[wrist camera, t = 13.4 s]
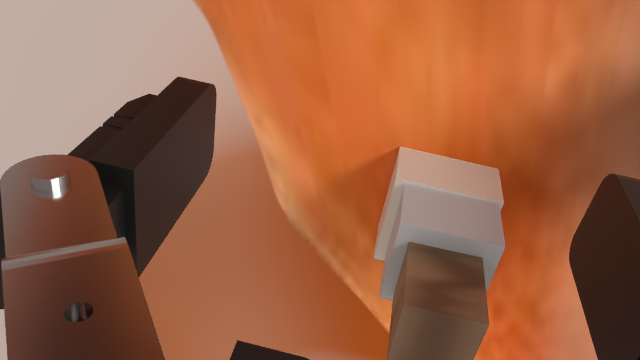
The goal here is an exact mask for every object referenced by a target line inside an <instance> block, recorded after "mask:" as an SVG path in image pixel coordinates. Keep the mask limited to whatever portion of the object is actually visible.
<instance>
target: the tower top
mask: <svg viewBox="0 0 640 360" xmlns="http://www.w3.org/2000/svg"><path fill="white" fill-rule="evenodd" d="M409 242H414V243H418V244H423V245H427V246H432V247H436V248H441V249H445V250H450V251H454V252H459V253H463V254H468V255H472V256H477V257H481V258H483V266H484V276H485V287H486V292H487V290H488V287H489V285H490V282H491V280H492V278H493V275H494V273H495V271H496V268H497V266H498V264H499V261H500V259H501V256H502V254H503V252H504V249H505V247H506V245H505V239H504V232H503V225H502V219H501V212H500V206H499V203H494V202H490V201H485V200H480V199H476V198H471V197H467V196H462V195H457V194H453V193H448V192H444V191H439V190H435V189H430V188H425V187H421V186H416V185H412V184H407V183H404V186H403V190H402V194H401V197H400V201H399V205H398V209H397V212H396V216H395V220H394V223H393V227H392V231H391V235H390V238H389V242H388V246H387V249H386V253H385V259H384V267H383V275H382V282H381V290H380V297H379V298H383V299H387V300H392V301H393V295H394V291H395V288H396V284H397V281H398V277H399V274H400V270H401V267H402V263H403V260H404V256H405V253H406V250H407V246H408V243H409Z"/></svg>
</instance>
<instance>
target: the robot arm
mask: <svg viewBox="0 0 640 360" xmlns="http://www.w3.org/2000/svg"><path fill="white" fill-rule="evenodd" d="M215 113H216V88H215V86H214V85H213V84H209V83H205V82H200V81H196V80H191V79H187V78H182V77H177V78H176V79H175V80H173V81H172V82H171V83H170V84H169V85H168V86H167V87H166V88H165V89H164V90H163V91H162V92H161V93H160V94H159V95H158V96H156V95H152V94H148V95H145V96H142V97H140V98H137V99H134V100H132V101H129V102H127V103H126V104H125V105H124V106H123V107H122V108H120V109H119V110H118V111H117V112H116V113H115V114H114V117H110V118H109V119H108V120H107V121H106V122H105V123H103V126H102V127H99V128H98V129H96V130H95V131H94V132H93V133H92V134H91V135H90V136H89V137H88V138H86V139H85V140H84V141H83V142H82V143H81V144H80V145H78V146H77V147H76V148H75V149H74V150H73V151H71V152H70V153H69V154H68V155H43V156H37V157H33V158H29V159H26V160H23V161H21V162H19V163H17V164H15V165H14V166H12V167H10V168H9V169H8V170H7V171H6V172H5V173H4V174H3V176H2V178H1V180H0V309H4V311H5V327H6V342H7V356H8V360H165V358H164V355H163V352H162V349H161V345H160V342H159V339H158V336H157V333H156V330H155V327H154V324H153V321H152V317H151V314H150V311H149V308H148V305H147V302H146V299H145V296H144V292H143V289H142V286H141V283H140V280H139V277H140V275H141V273H142V272H143V271H144V269H145V267H146V266H147V264H148V263H149V262H150V260H151V259H152V257H153V256H154V254H155V253H156V251H157V250H158V248H159V247H160V245H161V244H162V242H163V241H164V239H165V238H166V236H167V235H168V233H169V232H170V230H171V229H172V227H173V226H174V224H175V223H176V221H177V220H178V218H179V217H180V215H181V214H182V212H183V211H184V209H185V208H186V206H187V205H188V203H189V202H190V201H191V199H192V198H193V196H194V195H195V193H196V192H197V190H198V188H199V187H200V185H201V184H202V183H203V181H204V179H205V178H206V176H207V174H208V172H209V169H210V165H211V162H212V157H213V149H214V132H215V131H214V130H215ZM569 261H570V266H571V270H572V273H573V276H574V280H575V283H576V287H577V290H578V293H579V297H580V300H581V304H582V307H583V310H584V314H585V317H586V321H587V324H588V327H589V331H590V334H591V338H592V341H593V344H594V348H595V351H596V355H597V358H598V360H640V180H639V179H635V178H630V177H626V176H621V175H617V174H609V175H608V176H606V177H605V178H604V180H603V181H602V182H601V184H600V186H599V188H598V190H597V192H596V194H595V196H594V198H593V199H592V201H591V203H590V205H589V207H588V209H587V211H586V213H585V215H584V217H583V219H582V221H581V223H580V224H579V226H578V228H577V230H576V232H575V234H574V236H573V239H572V242H571V247H570V254H569ZM230 360H309V359H307V358H305V357H301V356H297V355H293V354H289V353H285V352H280V351H277V350H273V349H269V348H265V347H261V346H258V345H253V344H250V343H245V342H242V341H238V340H237V343H236V345H235V348H234V350H233V353H232V355H231V358H230Z"/></svg>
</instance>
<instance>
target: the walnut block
mask: <svg viewBox="0 0 640 360" xmlns="http://www.w3.org/2000/svg"><path fill="white" fill-rule="evenodd" d="M488 326H489V318H488V308H487V297H486V287H485V276H484V266H483V258H481V257H477V256H472V255H468V254H463V253H459V252H454V251H450V250H445V249H441V248H436V247H432V246H427V245H423V244H418V243H414V242H409V243H408V246H407V250H406V253H405V256H404V260H403V263H402V267H401V270H400V274H399V277H398V281H397V284H396V288H395V291H394V295H393V305H392V315H391V325H390V334H389V344H388V354H387V360H474V358H475V355H476V353H477V351H478V348H479V346H480V344H481V342H482V339H483V337H484V335H485V333H486V330H487V328H488Z"/></svg>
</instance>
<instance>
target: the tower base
mask: <svg viewBox="0 0 640 360" xmlns="http://www.w3.org/2000/svg"><path fill="white" fill-rule="evenodd" d="M404 183H407V184H412V185H416V186H421V187H425V188H430V189H435V190H439V191H444V192H448V193H453V194H457V195H462V196H467V197H471V198H476V199H480V200H485V201H490V202H494V203H499V206H500V211H501V209H502V207H503V204H504V199H503V193H502V187H501V181H500V174H499V169H497V168H493V167H488V166H484V165H480V164H475V163H471V162H467V161H462V160H458V159H454V158H449V157H445V156H441V155H436V154H432V153H427V152H423V151H419V150H414V149H410V148H406V147H401V146H400V149H399V152H398V156H397V160H396V163H395V167H394V171H393V174H392V178H391V181H390V185H389V189H388V192H387V196H386V200H385V203H384V207H383V210H382V214H381V218H380V221H379V226H378V233H377V239H376V245H375V251H374V259H378V260H382V261H384V259H385V253H386V249H387V246H388V242H389V238H390V235H391V231H392V227H393V223H394V220H395V216H396V212H397V209H398V205H399V201H400V197H401V194H402V190H403V186H404Z"/></svg>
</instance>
